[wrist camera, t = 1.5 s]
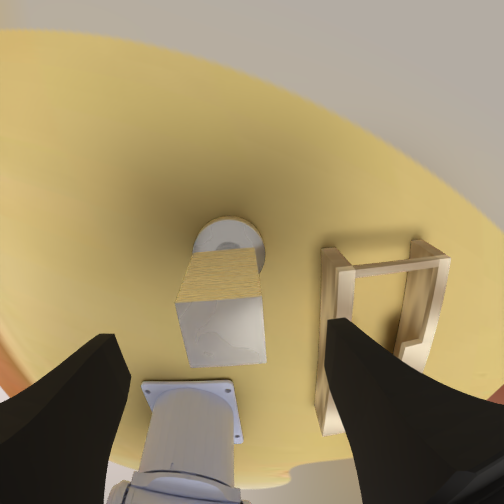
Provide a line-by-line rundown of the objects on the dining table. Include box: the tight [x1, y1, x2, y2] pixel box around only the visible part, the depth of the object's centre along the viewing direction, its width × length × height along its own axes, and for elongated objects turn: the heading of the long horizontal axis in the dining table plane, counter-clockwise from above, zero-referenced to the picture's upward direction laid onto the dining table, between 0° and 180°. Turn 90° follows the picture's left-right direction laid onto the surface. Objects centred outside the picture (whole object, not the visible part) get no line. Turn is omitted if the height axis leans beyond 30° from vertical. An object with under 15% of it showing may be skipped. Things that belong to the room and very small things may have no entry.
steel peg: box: [175, 216, 267, 368], centre depth 15 cm, size 4×4×9 cm
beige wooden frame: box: [314, 239, 451, 437], centre depth 21 cm, size 16×8×4 cm, turn 5°
